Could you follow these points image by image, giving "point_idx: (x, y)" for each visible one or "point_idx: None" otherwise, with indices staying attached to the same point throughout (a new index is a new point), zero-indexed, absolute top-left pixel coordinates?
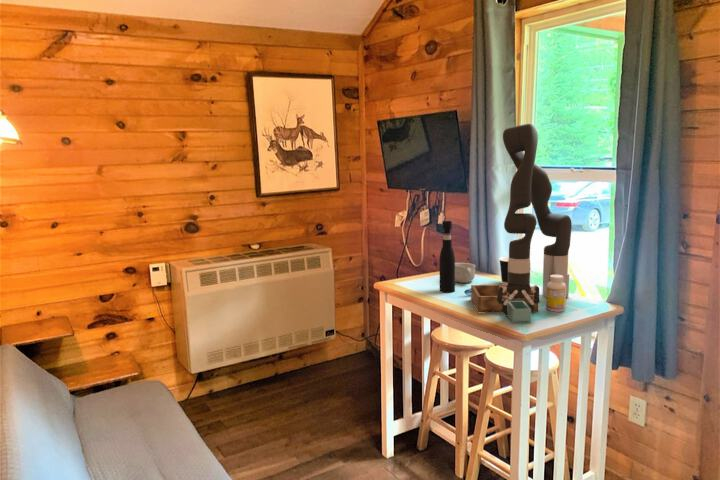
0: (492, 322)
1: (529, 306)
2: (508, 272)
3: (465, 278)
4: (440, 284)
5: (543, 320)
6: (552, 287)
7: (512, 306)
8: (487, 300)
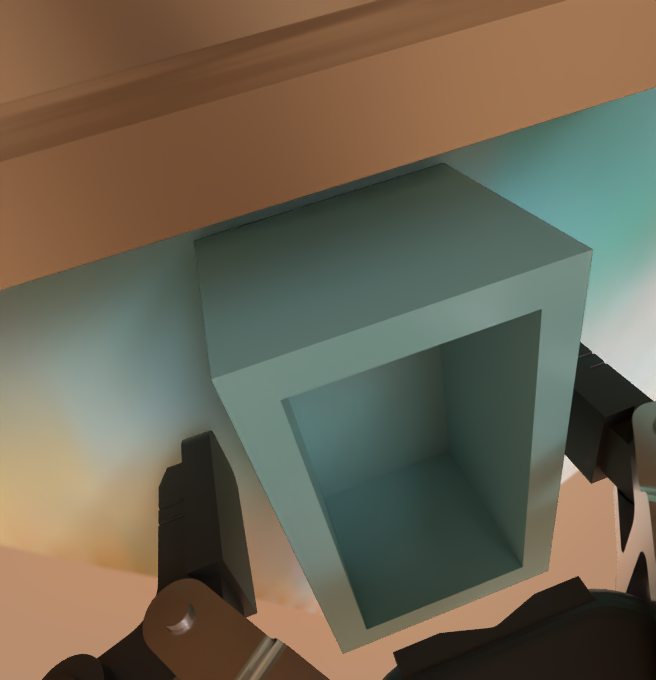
0: (85, 552)
1: (574, 436)
2: None
3: None
4: None
5: (596, 336)
6: None
7: (332, 588)
8: None
